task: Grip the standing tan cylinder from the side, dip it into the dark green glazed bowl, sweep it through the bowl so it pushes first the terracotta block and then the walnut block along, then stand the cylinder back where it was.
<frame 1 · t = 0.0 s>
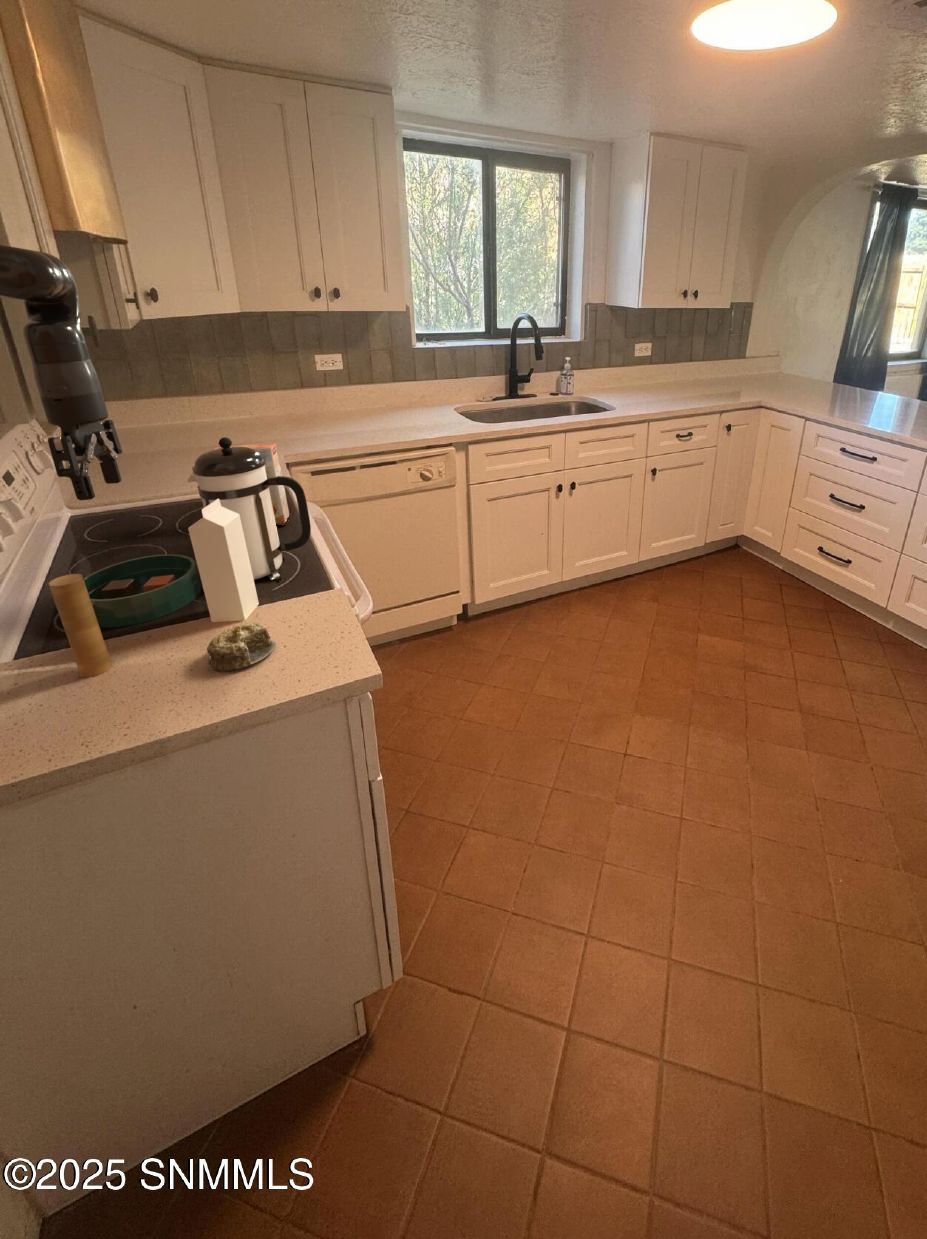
hand: (100, 490, 94), 26 cm above the countertop, tool pointing down, fingers open, 8 cm apart
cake: (243, 655, 95), on the countertop
walnut block: (123, 602, 111), point 1 cm above the countertop, touching bowl
coffee press: (261, 575, 123), on the countertop
cracker box: (259, 525, 150), on the countertop
terracotta block: (164, 598, 112), point 1 cm above the countertop, touching bowl
milk: (236, 616, 107), on the countertop
tan cylinder: (96, 669, 92), on the countertop
bowl: (144, 603, 112), on the countertop
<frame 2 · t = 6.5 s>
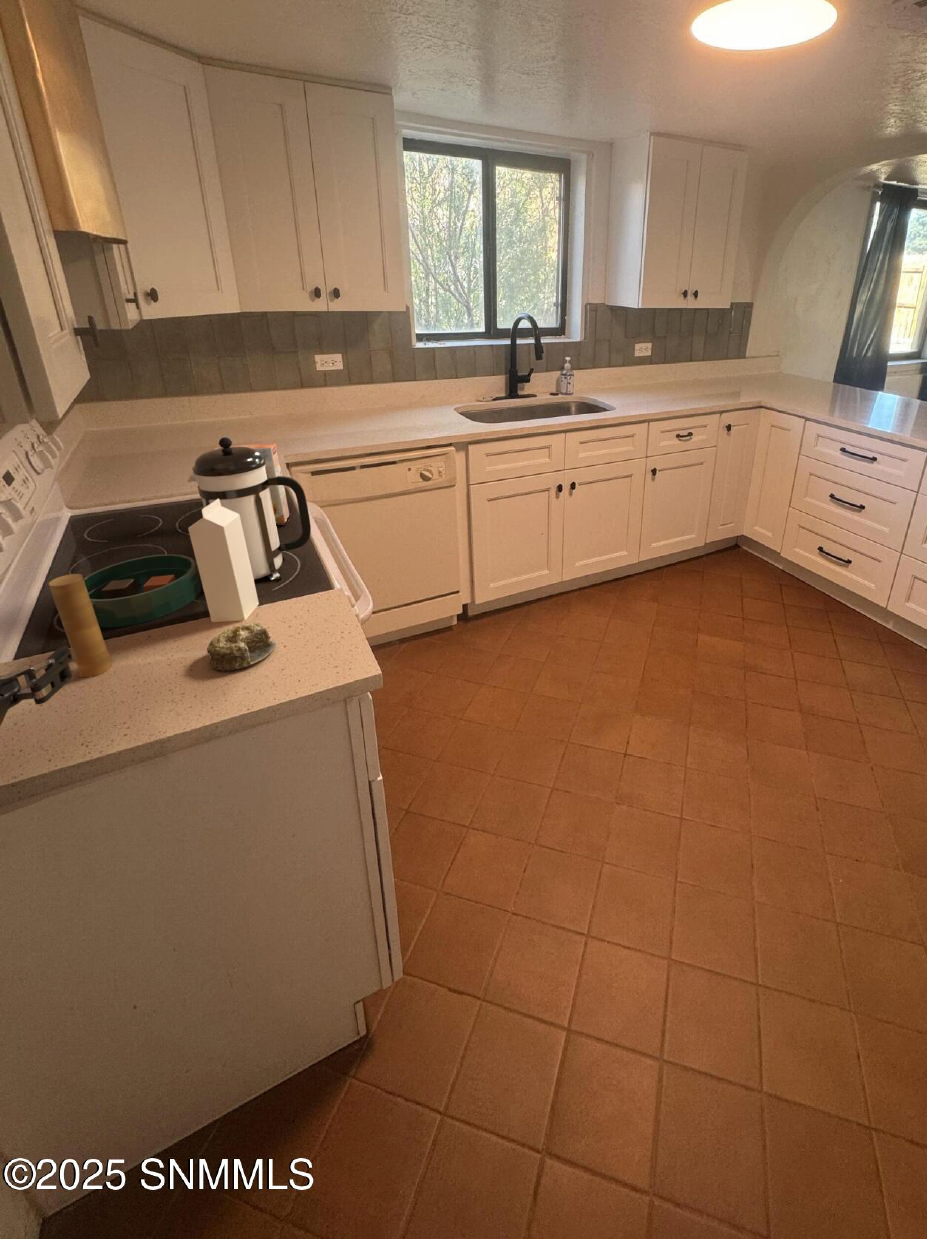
hand: (30, 656, 78), 10 cm above the countertop, tool horizontal, fingers open, 8 cm apart
nothing on the countertop moved.
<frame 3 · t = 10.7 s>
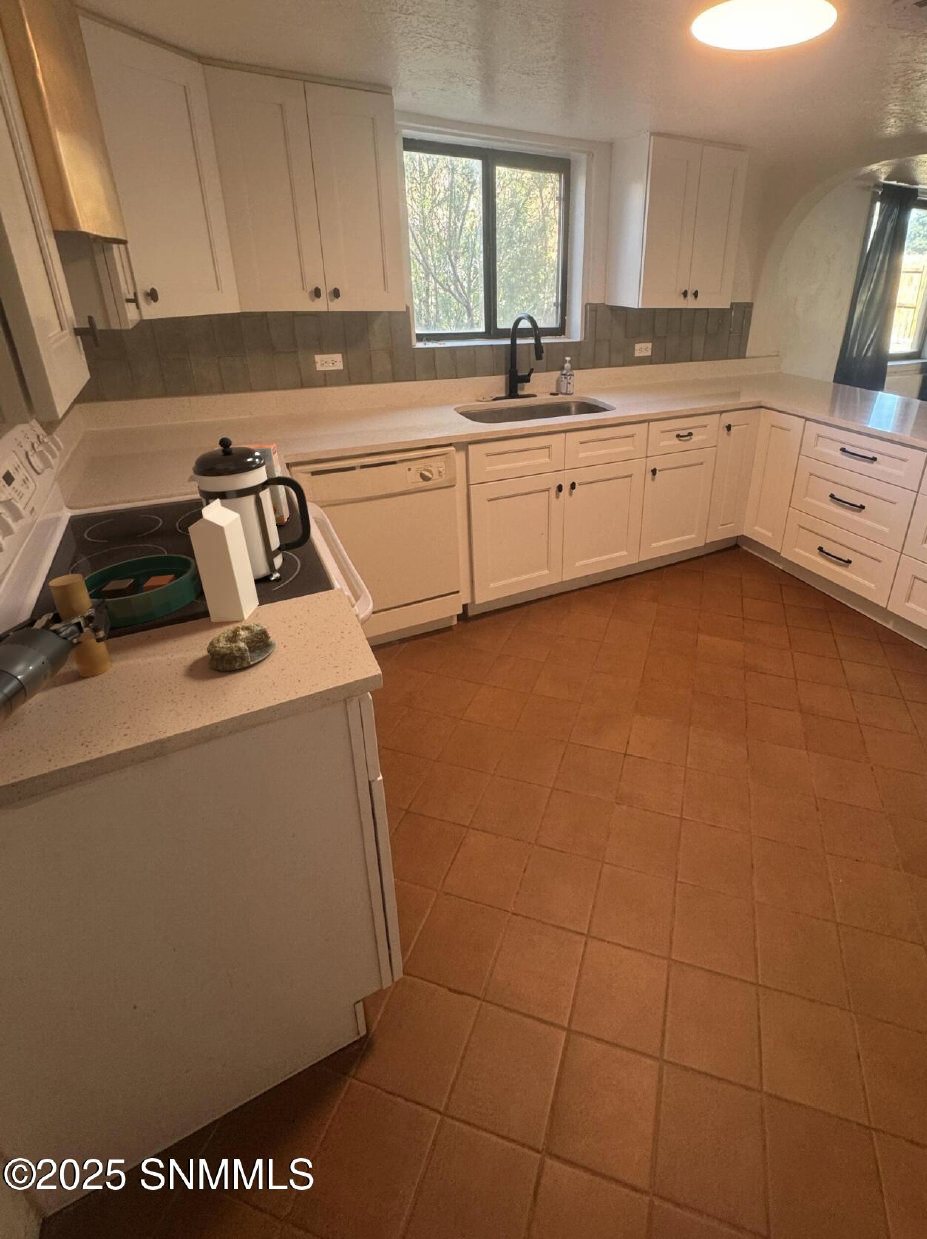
hand: (87, 605, 91), 10 cm above the countertop, tool horizontal, fingers closed on tan cylinder, 4 cm apart
tan cylinder: (96, 669, 92), on the countertop, touching gripper
everything else where it was.
when the fingers open (10 cm above the countertop, at t = 27.9 s): tan cylinder stays where it is, on the countertop.
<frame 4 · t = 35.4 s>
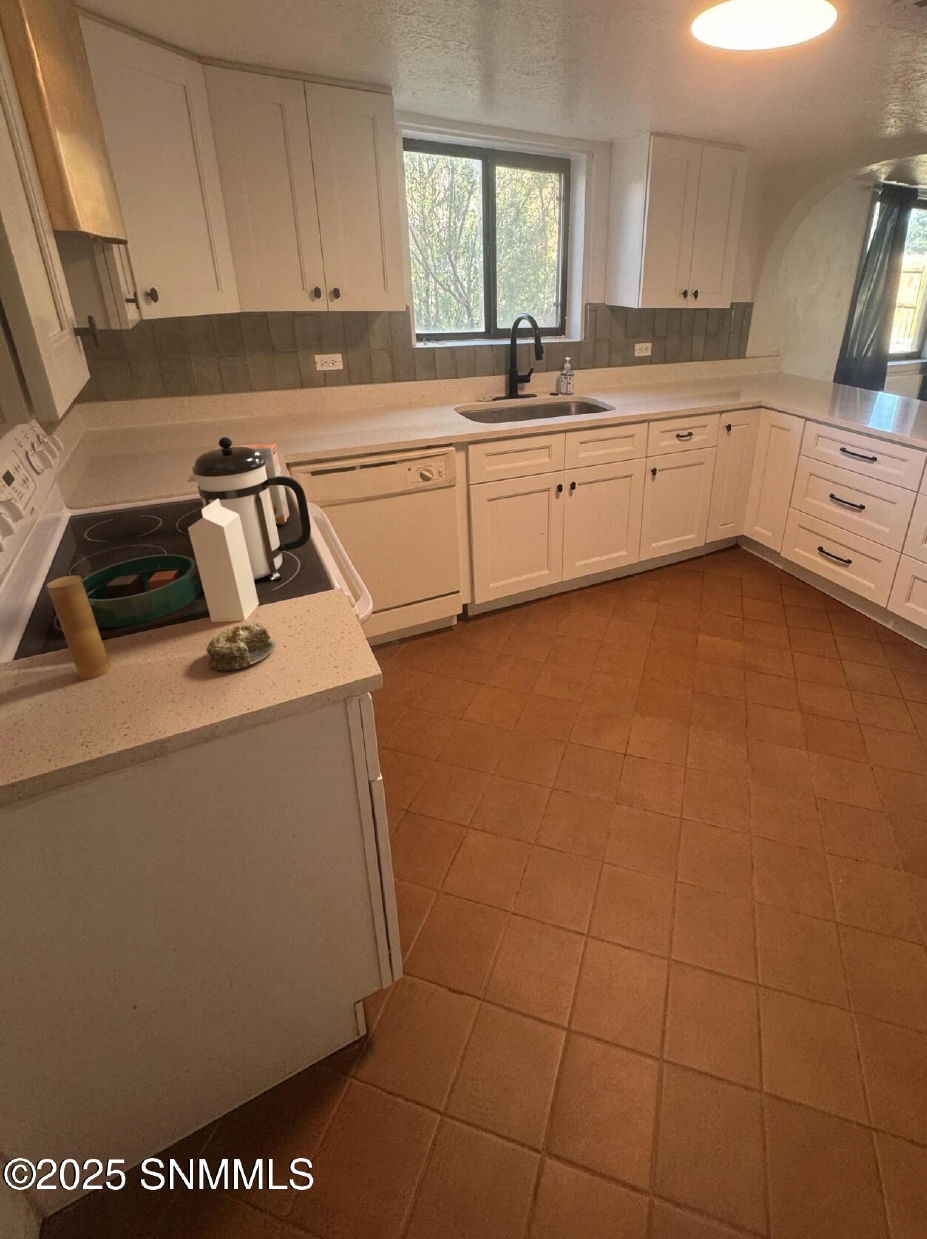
walnut block: (128, 598, 113), point 1 cm above the countertop, touching bowl
terracotta block: (168, 593, 114), point 1 cm above the countertop, touching bowl
tan cylinder: (95, 671, 91), on the countertop
everything else where it was.
at the end: terracotta block moved 2.1 cm from its start; walnut block moved 1.8 cm from its start; terracotta block inside the target area in the bowl (4.1 cm from its centre), point 0.6 cm above the bowl's base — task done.
